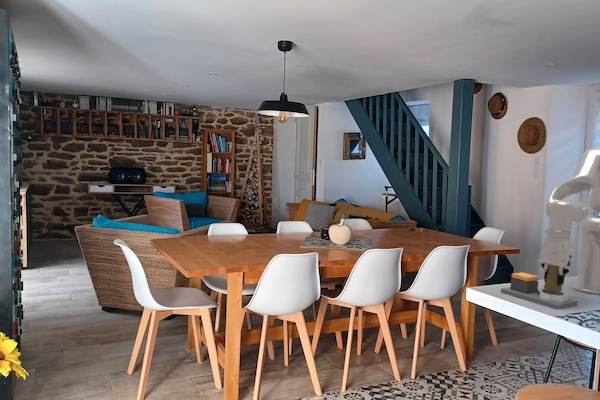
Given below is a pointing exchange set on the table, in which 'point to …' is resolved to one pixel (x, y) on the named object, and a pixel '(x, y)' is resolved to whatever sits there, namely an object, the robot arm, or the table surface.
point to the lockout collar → (552, 295)
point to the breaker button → (525, 276)
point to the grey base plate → (532, 293)
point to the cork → (552, 279)
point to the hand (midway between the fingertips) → (553, 283)
